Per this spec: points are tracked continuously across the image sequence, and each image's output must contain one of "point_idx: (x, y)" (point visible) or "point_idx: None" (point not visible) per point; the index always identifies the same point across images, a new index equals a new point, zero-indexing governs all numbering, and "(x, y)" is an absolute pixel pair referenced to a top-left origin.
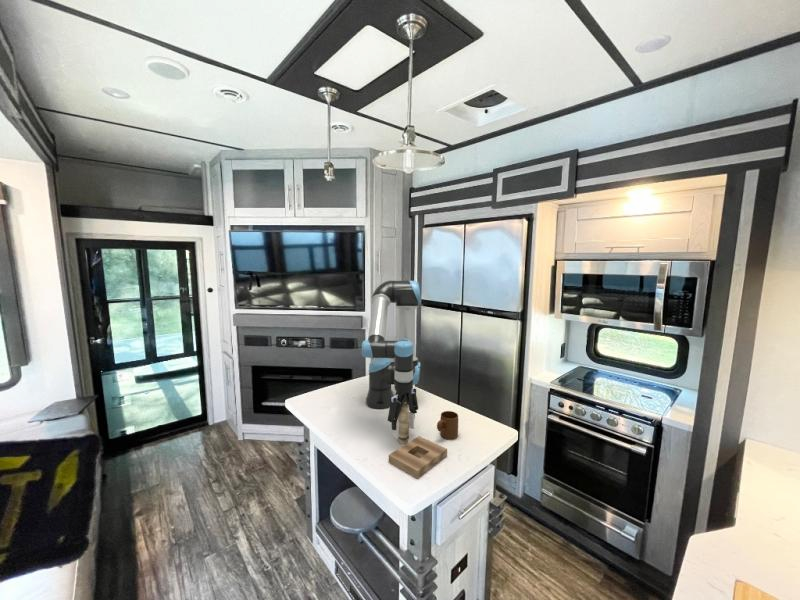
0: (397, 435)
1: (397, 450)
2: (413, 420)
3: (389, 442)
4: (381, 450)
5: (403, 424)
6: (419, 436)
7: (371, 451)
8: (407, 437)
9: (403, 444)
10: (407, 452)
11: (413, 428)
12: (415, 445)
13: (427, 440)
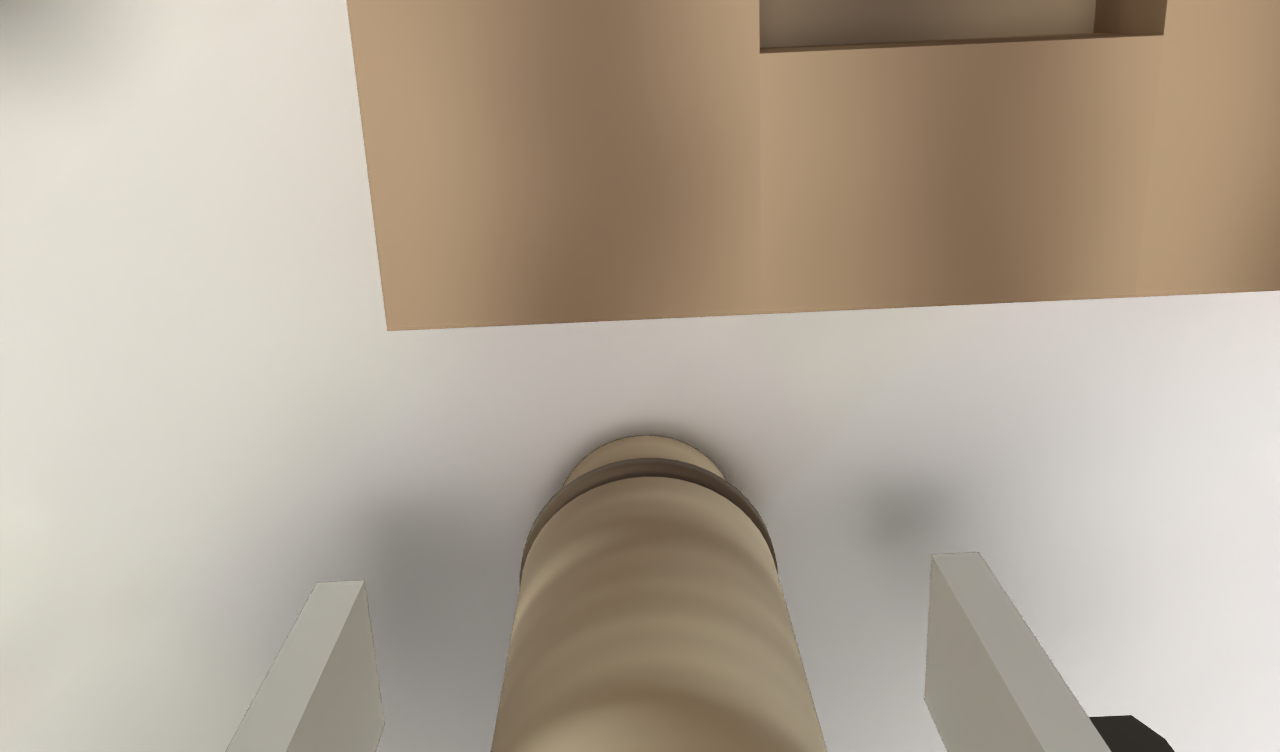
0: (996, 587)
1: (1244, 259)
2: (273, 725)
3: (842, 682)
4: (1142, 602)
5: (796, 734)
6: (400, 299)
7: (1275, 694)
8: (629, 483)
9: (709, 460)
10: (1173, 19)
11: (340, 583)
12: (788, 90)
13: (380, 14)
